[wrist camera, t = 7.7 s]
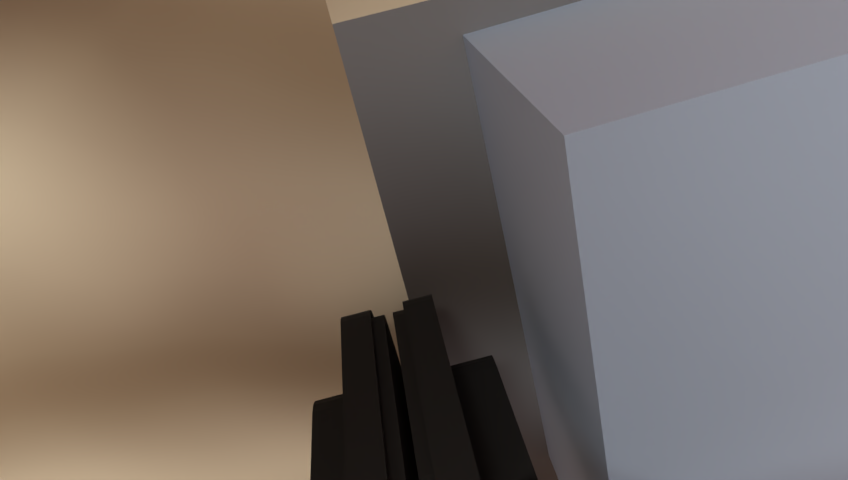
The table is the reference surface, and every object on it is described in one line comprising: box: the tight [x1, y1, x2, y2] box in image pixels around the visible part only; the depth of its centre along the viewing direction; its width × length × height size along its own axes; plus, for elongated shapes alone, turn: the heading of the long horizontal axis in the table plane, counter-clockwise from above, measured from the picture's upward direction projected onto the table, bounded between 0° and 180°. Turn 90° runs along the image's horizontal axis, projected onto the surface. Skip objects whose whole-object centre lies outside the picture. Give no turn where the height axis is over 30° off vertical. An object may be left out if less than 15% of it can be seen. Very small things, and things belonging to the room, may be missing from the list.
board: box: [0, 0, 581, 480], centre depth 12 cm, size 16×23×1 cm
